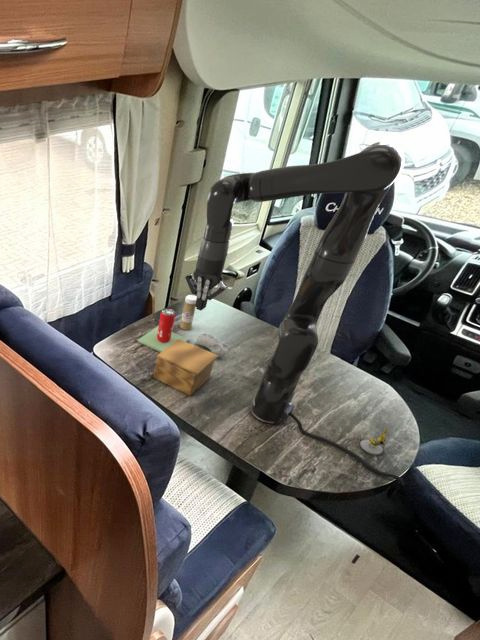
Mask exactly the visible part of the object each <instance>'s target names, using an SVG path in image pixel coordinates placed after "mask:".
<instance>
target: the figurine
mask: <svg viewBox="0 0 480 640" xmlns="http://www.w3.org/2000/svg"><path fill="white" fill-rule="evenodd" d="M387 431H388V427H386V428H385V429H384V430H383V431H382V432H381V434H380V436H379V437H377V438H371V437H368V439H363V440H361V441H360V442H359V445H360V447H361V448H362V450H364V451H365V452H366V453H369V454H370V455H375V456H376V455H377V456H378V455H381V454H382V453H383V451H384V450H383V447H382V446H386V435H387ZM381 445H382V446H381Z"/></svg>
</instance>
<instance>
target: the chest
mask: <svg viewBox="0 0 480 640" xmlns="http://www.w3.org/2000/svg"><path fill="white" fill-rule="evenodd" d="M214 364H215V360H214V361H213V362H212V363H211V364H210V365H209V366H208V367H206V368H205V369H204V370H203V371H202V372H201V373H200V374H199V375H197V374H195V373H192V372H190V371H188V370H186V369H183V368H181V367H179V366H177V365H174V364H172V363H170V362H168V361H165V360H163V359H161V358H159V357H157V356H156V360H155V366H154V372H153V377H152V378H154V379H155V380H158V381H159V382H162V383H163V384H165V385H168V386H170V387H171V388H173V389H175V390H178V391H180V393H184V394H185V395H188V396H191V395H193V394H194V393H195V392H196V391H197V390H199V388H201V386H202V385H203V384H204V383H205V382H207V380H209V379H210V377H211V375H212V370H213V366H214Z"/></svg>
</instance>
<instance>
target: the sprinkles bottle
mask: <svg viewBox="0 0 480 640" xmlns="http://www.w3.org/2000/svg"><path fill="white" fill-rule="evenodd" d="M196 300H197V296H196V295H195V294H187V295H186V296H185V299H184V306H183V310H182V314H181V320H180V324H179V328H180V329H181V330H185V331H189V330H191V329H192V325H193V321H194V316H195V313H196V306H195V304H196Z"/></svg>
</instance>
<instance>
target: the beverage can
mask: <svg viewBox="0 0 480 640" xmlns="http://www.w3.org/2000/svg"><path fill="white" fill-rule="evenodd" d="M175 318H176V312H175V310H174V309H171V308H164V309H162V310H161V312H160V316H159V322H158V326H159V327H158V333H157V338H158V341H159V342H162V343H167V342H169V340H170V339H171V334H172V332H173V329H174V325H175V324H174V323H175Z"/></svg>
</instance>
